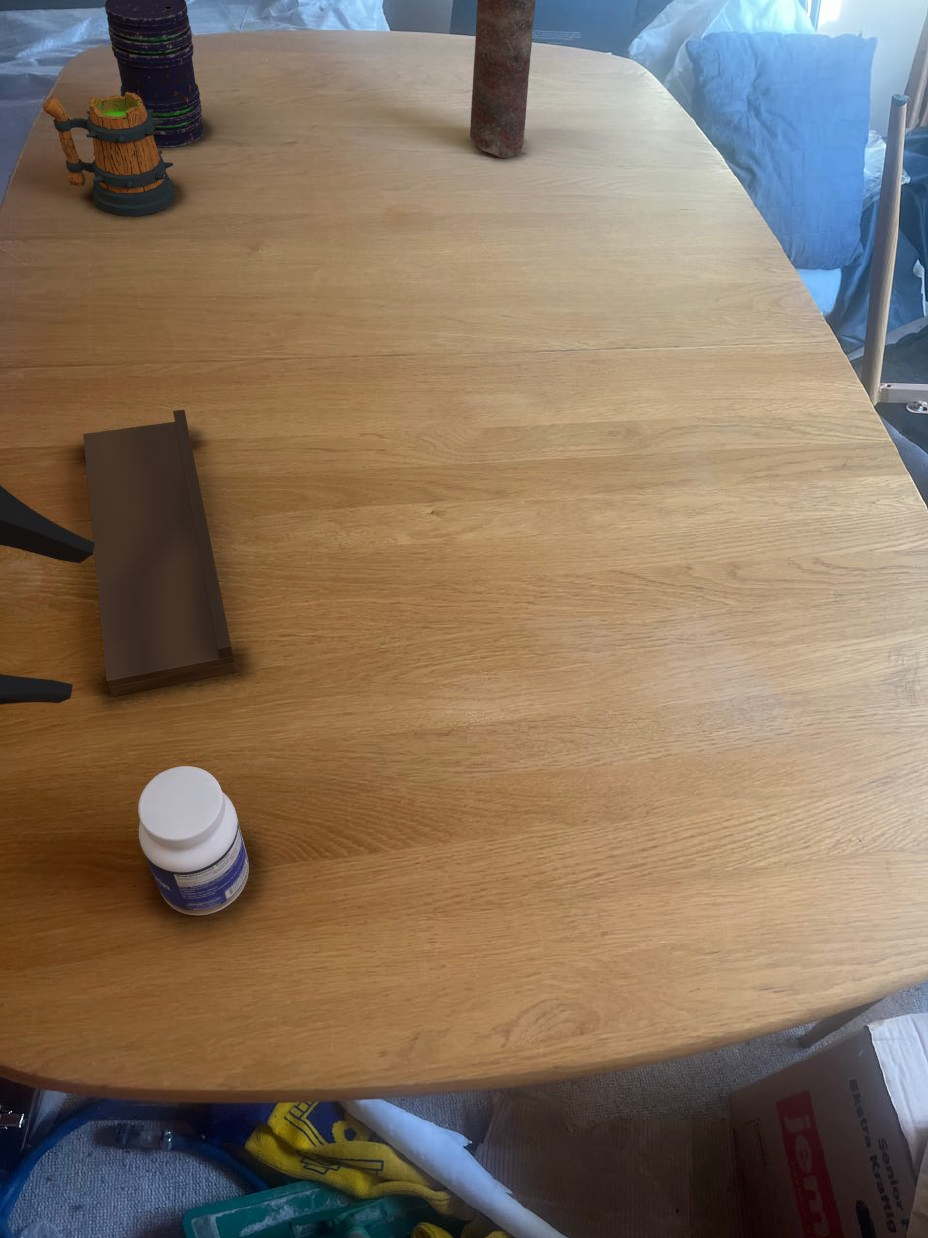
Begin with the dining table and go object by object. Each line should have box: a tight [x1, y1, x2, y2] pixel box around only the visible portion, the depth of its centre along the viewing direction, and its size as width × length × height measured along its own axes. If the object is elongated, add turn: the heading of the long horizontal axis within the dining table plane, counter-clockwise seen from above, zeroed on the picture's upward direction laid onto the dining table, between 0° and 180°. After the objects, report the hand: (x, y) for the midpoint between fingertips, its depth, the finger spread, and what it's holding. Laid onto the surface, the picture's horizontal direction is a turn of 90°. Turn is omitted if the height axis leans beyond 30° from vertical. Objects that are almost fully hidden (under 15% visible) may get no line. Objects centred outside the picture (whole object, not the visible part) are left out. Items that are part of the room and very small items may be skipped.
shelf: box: [82, 409, 237, 698], centre depth 78 cm, size 9×28×3 cm, turn 17°
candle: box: [469, 0, 537, 159], centre depth 124 cm, size 8×7×20 cm
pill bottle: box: [137, 765, 250, 916], centre depth 58 cm, size 6×6×10 cm
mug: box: [41, 92, 177, 217], centre depth 112 cm, size 13×10×12 cm
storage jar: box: [104, 0, 205, 148], centre depth 122 cm, size 10×10×15 cm
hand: (77, 621), depth 50 cm, fingers open, 7 cm apart
